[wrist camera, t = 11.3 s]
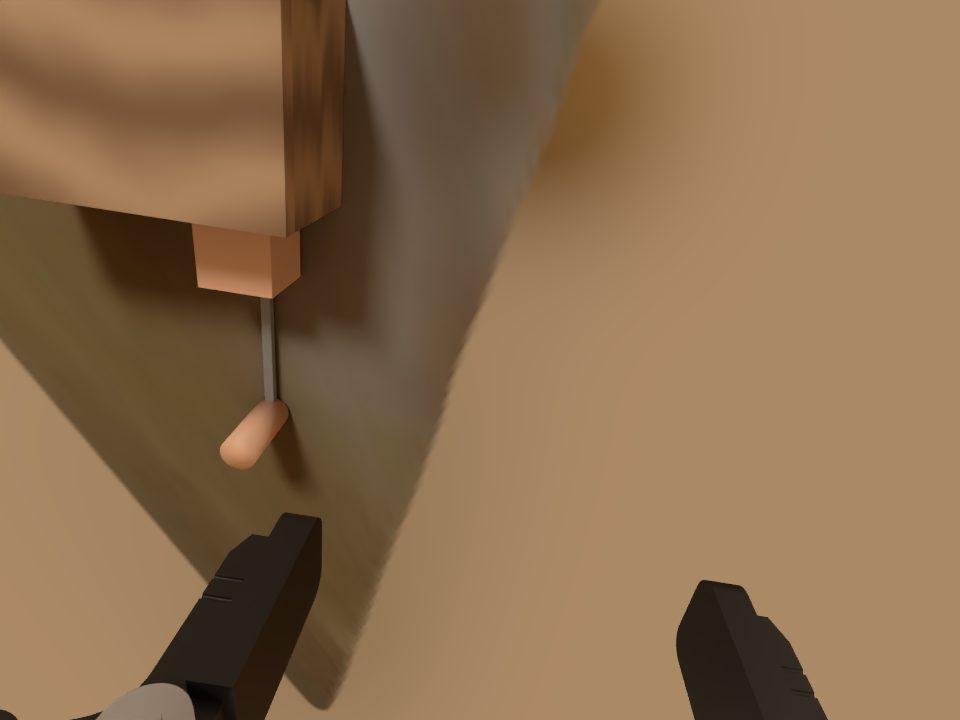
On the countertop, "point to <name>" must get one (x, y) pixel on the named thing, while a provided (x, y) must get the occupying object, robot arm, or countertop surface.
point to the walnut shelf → (176, 108)
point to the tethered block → (262, 273)
